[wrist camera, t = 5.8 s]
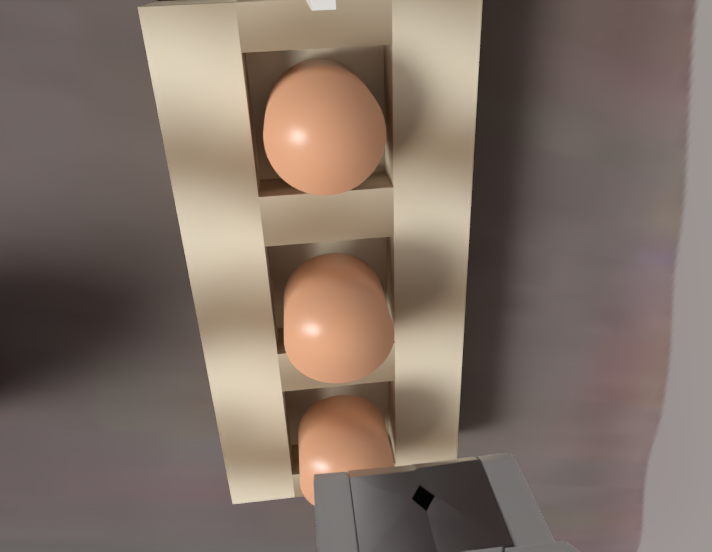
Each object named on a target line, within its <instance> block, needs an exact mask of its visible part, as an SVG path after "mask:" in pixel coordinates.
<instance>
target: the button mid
mask: <svg viewBox="0 0 712 552" xmlns="http://www.w3.org/2000/svg"><path fill="white" fill-rule="evenodd" d="M393 342H394V326H393V322H392V319H391V315H390V312H389V309H388V306H387V302H386V299H385V296H384V292H383V289H382V286H381V283H380V280H379V278H378V276H377V274H376V273H375V271H374V270H373V269H372V268H371V267H370V266H369V265H368V264H367V263H365V262H364V261H363V260H361V259H359V258H357V257H354V256H351V255H348V254H342V253H328V254H322V255H319V256H316V257H313V258H311V259H309V260H307V261H305V262H304V263H302V264H301V265H300V266H299V267H298V268H297V269H295V271H294V272H293V273H292V274H291V276H290V278H289V279H288V281H287V284H286V286H285V290H284V346H285V351H286V354H287V356H288V358H289V360H290V361H291V363H292V364H293V365H294V367H295V368H296V369H297V370H299V371H300V372H301V373H303V374H304V375H306V376H307V377H309V378H312V379H314V380H317V381H320V382H325V383H346V382H351V381H355V380H358V379H361V378H363V377H365V376H367V375H369V374H371V373H372V372H374V371H375V370H376V369H377V368H379V367H380V366H381V365H382V363H383V362H384V361H385V360H386V358H387V357H388V355H389V353H390V352H391V349H392V346H393Z"/></svg>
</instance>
